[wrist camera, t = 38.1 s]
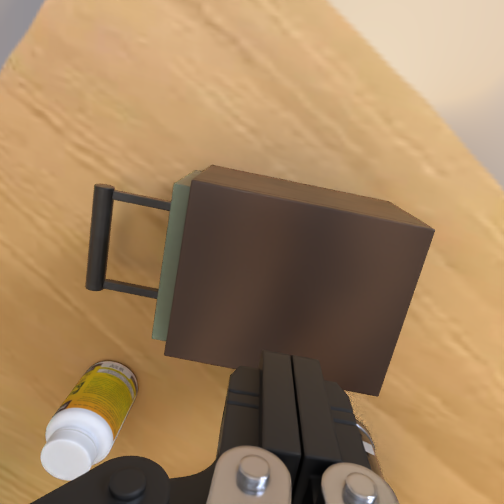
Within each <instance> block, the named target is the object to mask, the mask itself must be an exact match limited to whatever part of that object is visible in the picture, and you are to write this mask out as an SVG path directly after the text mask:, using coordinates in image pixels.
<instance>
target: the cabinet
mask: <svg viewBox="0 0 504 504" xmlns="http://www.w3.org/2000/svg"><path fill="white" fill-rule="evenodd" d="M434 232H435V229H433V228H431V227H430V226H428V225H427V224H425V223H424V222H422V221H420V220H419V219H417V218H415V217H414V216H412V215H410V214H409V213H407V212H405V211H404V210H402V209H401V208H399V207H397V206H396V205H394V204H392V203H391V202H389V201H384V200H379V199H374V198H369V197H365V196H360V195H355V194H350V193H345V192H340V191H335V190H331V189H326V188H321V187H316V186H311V185H306V184H302V183H297V182H292V181H287V180H282V179H277V178H273V177H268V176H263V175H258V174H253V173H248V172H244V171H239V170H234V169H229V168H224V167H219V166H215V165H211V166H210V167H208V168H207V169H206V170H204V171H203V172H201V173H200V174H199V175H197V176H196V177H195V178H193V179H192V180H191V185H190V192H189V198H188V205H187V211H186V217H185V224H184V230H183V237H182V243H181V249H180V256H179V262H178V269H177V275H176V281H175V288H174V294H173V301H172V307H171V313H170V320H169V326H168V332H167V339H166V345H165V352H164V355H165V356H170V357H175V358H180V359H185V360H191V361H196V362H201V363H206V364H211V365H217V366H222V367H227V368H232V369H237V368H238V367H239V366H240V365H241V366H247V367H252V368H258V365H259V360H260V356H261V352H262V350H267V351H272V352H278V353H283V354H289V355H290V356H291V355H295V356H301V357H306V358H312V359H318V360H319V362H320V365H321V370H322V374H323V378H324V380H326V381H332V382H337V383H338V385H339V386H340V387H341V388H342V389H343V390H346V391H352V392H357V393H362V394H367V395H372V396H379V393H380V390H381V387H382V384H383V381H384V378H385V375H386V372H387V369H388V367H389V364H390V361H391V358H392V355H393V352H394V349H395V346H396V343H397V340H398V337H399V334H400V331H401V329H402V326H403V323H404V320H405V317H406V314H407V311H408V308H409V305H410V302H411V299H412V296H413V293H414V290H415V288H416V285H417V282H418V279H419V276H420V273H421V270H422V267H423V264H424V261H425V258H426V255H427V252H428V250H429V247H430V244H431V241H432V238H433V235H434Z"/></svg>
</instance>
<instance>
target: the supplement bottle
mask: <svg viewBox="0 0 504 504" xmlns="http://www.w3.org/2000/svg"><path fill="white" fill-rule="evenodd" d="M137 391H138V385H137V380H136V378H135V376H134V374H133V373H132V372H131V371H130V370H129V369H128V368H127V367H125V366H124V365H122V364H120V363H117V362H112V361H104V362H99V363H97V364H95V365H93V366H91V367H90V368H89V369H88V370H87V371H86V373H85V374H84V375H83V376H82V378H81V379H80V381H79V382H78V383H77V385H76V386H75V387H74V389H73V390H72V391H71V393H70V394H69V396H68V397H67V398H66V400H65V401H64V402H63V404H62V405H61V406H60V408H59V409H58V410H57V412H56V413H55V415H54V416H53V417H52V419H51V420H50V422H49V424H48V426H47V429H46V442H47V443H46V444H45V446H44V447H43V449H42V451H41V457H40V458H41V463H42V465H43V467H44V468H45V470H46V471H47V472H48V473H49V474H51V475H52V476H54V477H56V478H58V479H62V480H74V479H75V478H77V477H79V476H81V475H83V474H84V473H86V472H88V471H89V470H90V468H91V466H92V465H94V464H96V463H98V462H100V461H101V460H103V459H104V458H105V457H106V456H107V455H108V453H109V452H110V450H111V448H112V446H113V444H114V442H115V440H116V438H117V436H118V433H119V431H120V429H121V427H122V425H123V423H124V421H125V419H126V417H127V415H128V413H129V411H130V409H131V406H132V404H133V402H134V400H135V398H136V395H137Z"/></svg>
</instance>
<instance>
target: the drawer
mask: <svg viewBox="0 0 504 504" xmlns="http://www.w3.org/2000/svg"><path fill="white" fill-rule="evenodd" d="M200 173H201V171H197V170H195V171H193V172H192V173H190V174H188V175H187V176H185V177H184V178H182V179H180V180H179V181H177V182H176V183H174V186H173V193H172V200H171V201H166V200H162V199H157V198H152V197H147V196H142V195H137V194H132V193H127V192H122V191H117V190H115V187H113V186H111V185H107V184H95V185H94V194H93V206H92V217H91V228H90V240H89V251H88V263H87V274H86V285H85V287H86V289H88V290H91V291H101V290H103V289H109V290H114V291H120V292H125V293H130V294H135V295H140V296H145V297H150V298H155V299H157V304H156V311H155V318H154V325H153V332H152V339H157V340H162V341H166V339H167V332H168V326H169V320H170V313H171V307H172V301H173V294H174V288H175V281H176V275H177V269H178V262H179V256H180V249H181V243H182V237H183V230H184V224H185V217H186V211H187V205H188V198H189V192H190V185H191V180H192V179H193V178H195V177H196V176H197V175H199V174H200ZM114 200H118V201H123V202H128V203H133V204H138V205H143V206H148V207H153V208H158V209H163V210H167V211H170V214H169V221H168V228H167V235H166V242H165V249H164V256H163V262H162V269H161V276H160V283H159V289H156V288H151V287H146V286H140V285H135V284H130V283H125V282H120V281H115V280H110V279H106V270H107V260H108V250H109V241H110V231H111V221H112V211H113V202H114Z"/></svg>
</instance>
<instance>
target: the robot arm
mask: <svg viewBox="0 0 504 504" xmlns="http://www.w3.org/2000/svg"><path fill="white" fill-rule="evenodd" d="M30 504H399V502H398V500H397V497H396V495H395V493H394V492H393V490H392V489H391V487H390V486H389V485H388V484H387V483H386V481H385V480H384V477H383V474H382V471H381V468H380V465H379V462H378V459H377V456H376V453H375V448H374V444H373V441H372V438H371V436H370V434H369V432H368V430H367V429H366V428H365V427H364V426H363V425H362V424H361V423H360V422H359V421H357V420H356V419H355V416H354V414H353V409H352V406H351V403H350V400H349V397H348V395H347V394H346V393H345V392H344V390H343V389H342V388H341V387H340V386H339V385H338V383H337V382H332V381H326V380H324V378H323V374H322V370H321V365H320V362H319V360H318V359H312V358H306V357H301V356H295V355H291V356H290V355H289V354H283V353H278V352H272V351H267V350H262V352H261V356H260V360H259V365H258V368H252V367H247V366H241V365H240V366H239V367H238V368H237V369H236V370H235V371H234V372H233V373H232V374H231V375H230V380H229V386H228V391H227V396H226V401H225V406H224V412H223V417H222V422H221V428H220V435H219V442H218V448H217V455H216V460H215V461H214V463H213V464H212V465H211V466H209V467H208V468H207V469H205V470H204V471H202V472H200V473H198V474H194V475H191V476H186V477H179V478H170V479H169V477H168V475H167V474H166V472H165V471H164V469H163V468H162V467H161V466H160V465H158V464H157V463H156V462H154V461H152V460H150V459H147V458H144V457H139V456H123V457H117V458H114V459H111V460H109V461H106V462H104V463H102V464H101V465H99V466H97V467H95V468H93V469H92V470H90V471H88V472H86V473H84V474H83V475H81V476H79V477H77V478H75V479H74V480H72V481H70V482H68V483H66V484H65V485H63V486H61V487H59V488H57V489H55V490H54V491H52V492H50V493H48V494H46V495H45V496H43V497H41V498H39V499H37V500H36V501H34V502H32V503H30Z"/></svg>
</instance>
